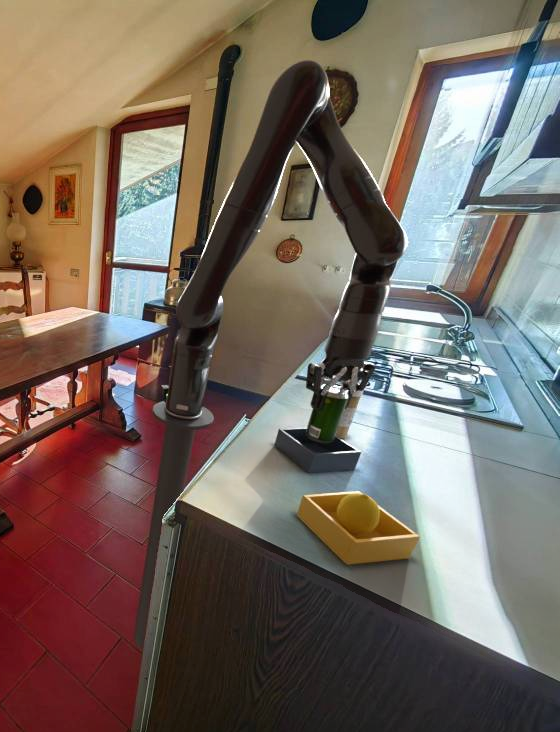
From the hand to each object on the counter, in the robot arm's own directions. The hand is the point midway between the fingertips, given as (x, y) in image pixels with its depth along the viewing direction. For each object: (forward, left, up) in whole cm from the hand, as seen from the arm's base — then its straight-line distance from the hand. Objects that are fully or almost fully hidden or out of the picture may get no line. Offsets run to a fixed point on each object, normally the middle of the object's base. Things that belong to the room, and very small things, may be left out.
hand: (328, 408), depth 84 cm
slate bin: (0, 0, -13) cm, 13 cm away
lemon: (+23, -12, -12) cm, 29 cm away
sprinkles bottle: (-9, +14, -13) cm, 21 cm away
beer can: (0, 0, -8) cm, 8 cm away
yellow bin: (+23, -12, -13) cm, 29 cm away
